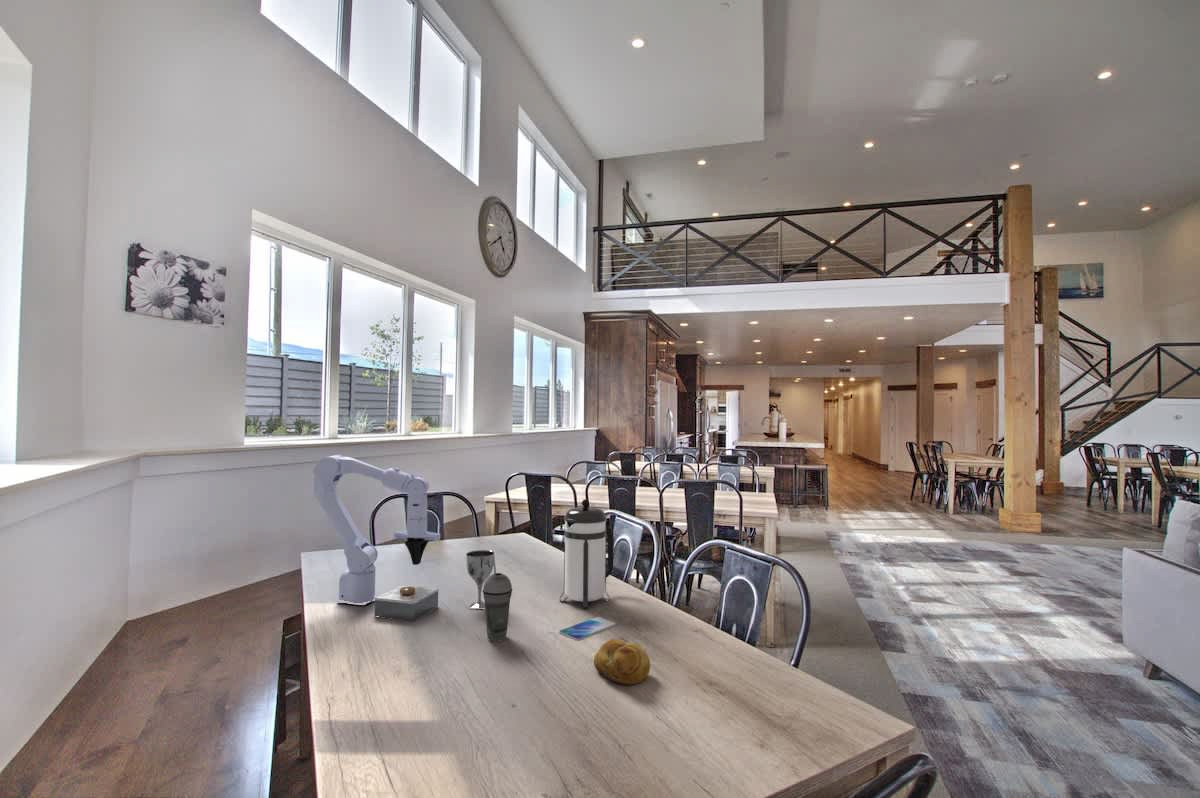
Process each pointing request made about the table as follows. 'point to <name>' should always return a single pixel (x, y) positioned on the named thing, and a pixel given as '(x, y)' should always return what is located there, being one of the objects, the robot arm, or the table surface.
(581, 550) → the coffee press
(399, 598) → the press
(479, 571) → the wine glass
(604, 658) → the bread roll
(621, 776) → the table surface
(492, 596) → the beverage cup
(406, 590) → the brass door knob
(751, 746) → the table surface
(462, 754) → the table surface
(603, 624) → the smartphone
